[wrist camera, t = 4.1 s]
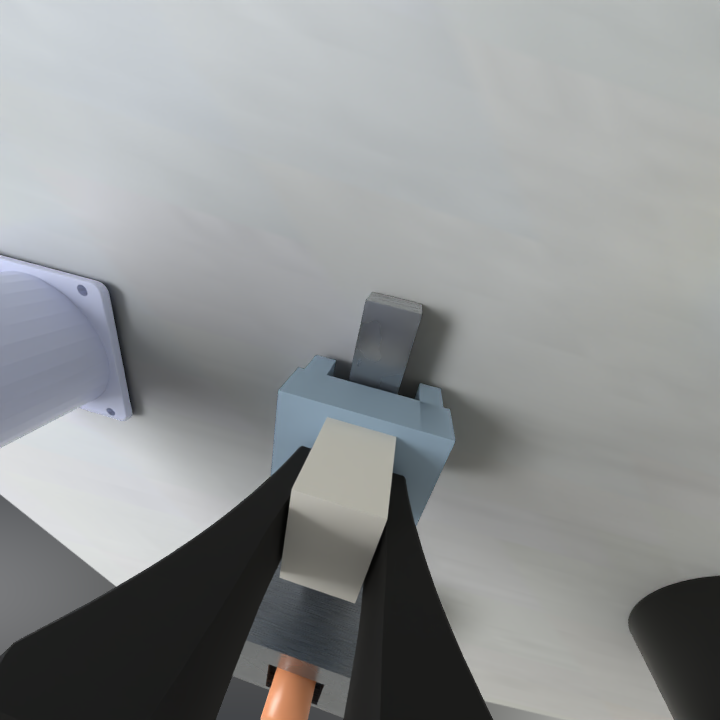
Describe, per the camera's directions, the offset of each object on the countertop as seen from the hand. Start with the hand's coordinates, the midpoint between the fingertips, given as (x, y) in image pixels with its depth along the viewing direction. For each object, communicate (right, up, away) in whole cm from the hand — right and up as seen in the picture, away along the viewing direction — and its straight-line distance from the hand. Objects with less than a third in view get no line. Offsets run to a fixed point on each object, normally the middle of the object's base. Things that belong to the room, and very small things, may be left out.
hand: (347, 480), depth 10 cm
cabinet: (-2, -11, +10) cm, 16 cm away
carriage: (+1, +2, +3) cm, 4 cm away
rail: (0, -1, +5) cm, 5 cm away
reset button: (-3, -13, +8) cm, 16 cm away
